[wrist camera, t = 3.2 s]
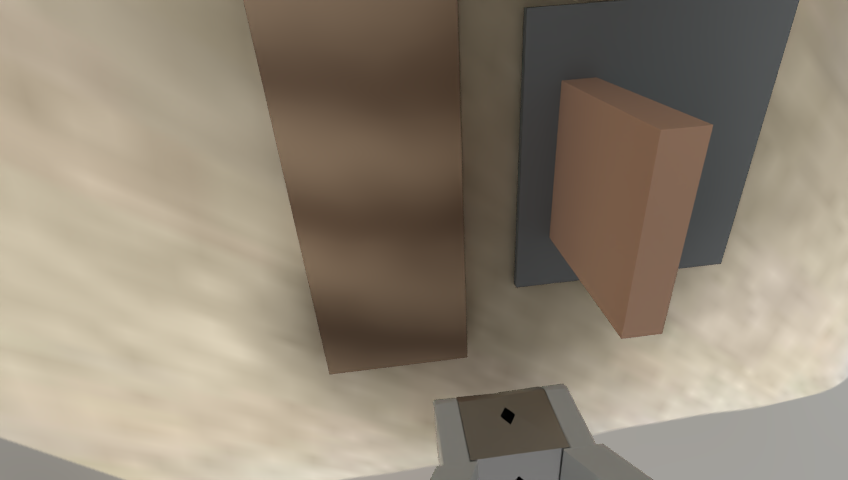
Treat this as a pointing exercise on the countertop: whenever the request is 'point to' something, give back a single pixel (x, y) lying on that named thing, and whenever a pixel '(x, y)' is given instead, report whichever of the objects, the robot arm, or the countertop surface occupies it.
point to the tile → (624, 198)
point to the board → (371, 170)
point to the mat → (659, 81)
